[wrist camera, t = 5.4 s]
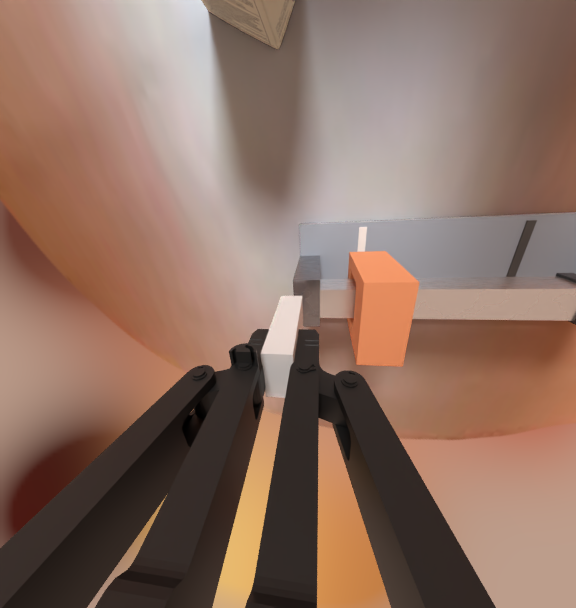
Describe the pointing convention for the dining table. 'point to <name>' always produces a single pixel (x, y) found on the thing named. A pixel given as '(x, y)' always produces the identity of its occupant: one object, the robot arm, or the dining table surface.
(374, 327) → the collar
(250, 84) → the dining table surface
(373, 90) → the dining table surface
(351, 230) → the board
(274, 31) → the skincare box
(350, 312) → the rail
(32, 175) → the dining table surface
